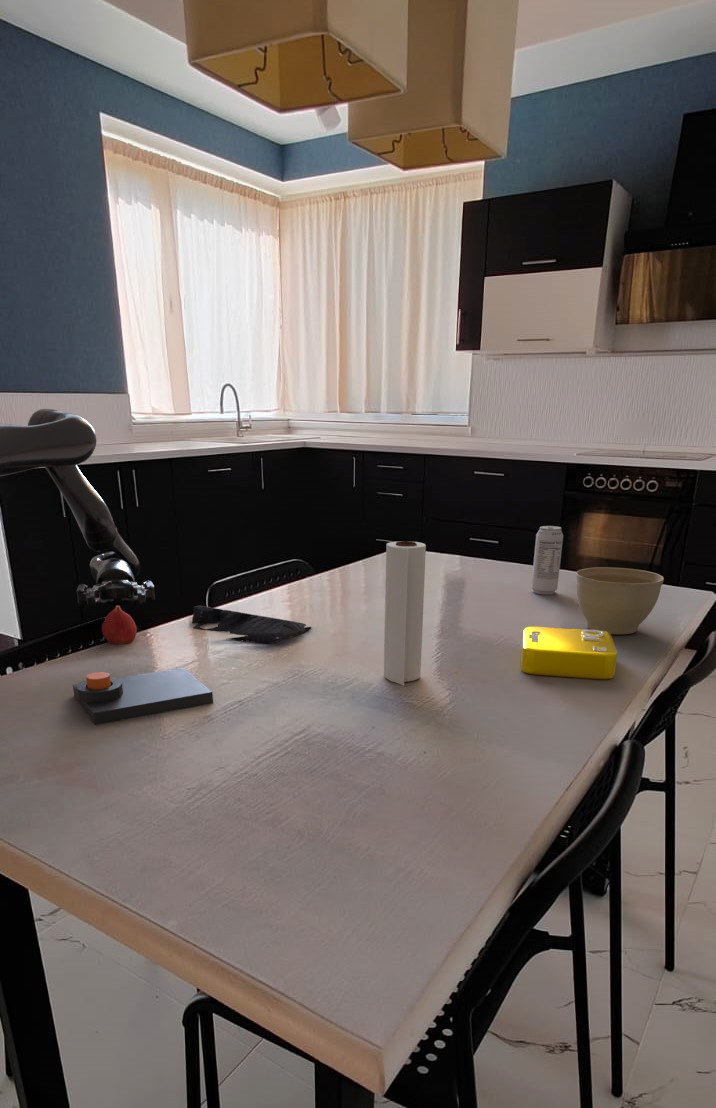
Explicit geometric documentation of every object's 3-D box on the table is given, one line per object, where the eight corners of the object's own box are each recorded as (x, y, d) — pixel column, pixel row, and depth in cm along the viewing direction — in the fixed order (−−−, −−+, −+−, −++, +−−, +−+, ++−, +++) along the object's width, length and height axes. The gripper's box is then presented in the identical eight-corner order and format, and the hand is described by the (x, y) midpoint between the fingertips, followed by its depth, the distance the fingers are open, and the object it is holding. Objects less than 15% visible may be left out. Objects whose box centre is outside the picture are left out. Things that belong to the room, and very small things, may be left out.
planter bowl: (672, 632, 151) (681, 577, 146) (618, 645, 142) (627, 587, 138) (605, 615, 163) (612, 563, 158) (552, 626, 154) (558, 571, 150)
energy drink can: (556, 590, 184) (563, 526, 178) (556, 595, 179) (564, 529, 173) (531, 588, 185) (537, 525, 180) (530, 594, 180) (536, 528, 174)
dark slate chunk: (275, 651, 137) (274, 625, 135) (177, 635, 146) (175, 610, 144) (318, 631, 149) (317, 607, 148) (225, 617, 158) (223, 594, 157)
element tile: (521, 648, 140) (524, 622, 138) (607, 654, 137) (610, 628, 135) (520, 674, 126) (523, 646, 125) (615, 681, 124) (619, 652, 122)
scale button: (90, 692, 108) (88, 680, 107) (85, 685, 110) (83, 673, 110) (113, 688, 109) (112, 676, 109) (107, 681, 112) (106, 670, 111)
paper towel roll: (396, 668, 129) (400, 538, 120) (427, 675, 126) (433, 542, 117) (371, 679, 123) (374, 544, 115) (403, 687, 120) (408, 548, 112)
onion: (97, 652, 136) (92, 607, 133) (118, 643, 141) (113, 600, 137) (124, 656, 134) (119, 610, 131) (145, 647, 139) (140, 603, 135)
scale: (91, 726, 105) (87, 702, 103) (70, 697, 115) (67, 675, 113) (213, 704, 113) (211, 681, 111) (184, 678, 123) (182, 657, 122)
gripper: (76, 565, 154) (73, 582, 140) (149, 562, 158) (154, 578, 143) (81, 602, 157) (79, 623, 143) (153, 598, 161) (158, 617, 146)
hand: (116, 600), depth 143 cm, fingers open, 8 cm apart
